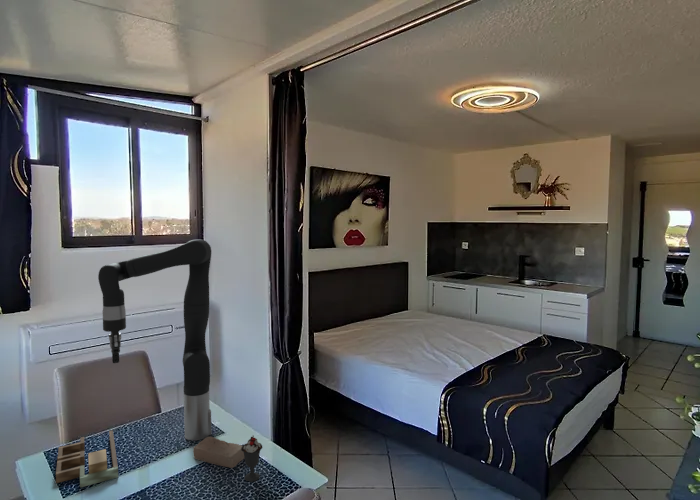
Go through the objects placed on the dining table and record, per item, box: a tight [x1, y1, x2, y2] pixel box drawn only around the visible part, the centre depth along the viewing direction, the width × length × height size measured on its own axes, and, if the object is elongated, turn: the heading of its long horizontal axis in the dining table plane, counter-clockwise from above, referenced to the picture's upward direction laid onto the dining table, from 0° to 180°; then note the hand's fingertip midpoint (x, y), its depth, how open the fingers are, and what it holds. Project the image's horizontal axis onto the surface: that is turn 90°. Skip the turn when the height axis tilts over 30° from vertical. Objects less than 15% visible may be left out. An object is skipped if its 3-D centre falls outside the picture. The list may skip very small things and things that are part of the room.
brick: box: [192, 436, 245, 469], centre depth 149 cm, size 17×8×5 cm, turn 69°
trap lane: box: [55, 430, 119, 488], centre depth 145 cm, size 17×29×3 cm, turn 32°
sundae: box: [241, 435, 263, 483], centre depth 138 cm, size 7×7×15 cm
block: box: [87, 448, 108, 474], centre depth 139 cm, size 5×8×6 cm, turn 32°
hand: (115, 362), depth 161 cm, fingers closed
